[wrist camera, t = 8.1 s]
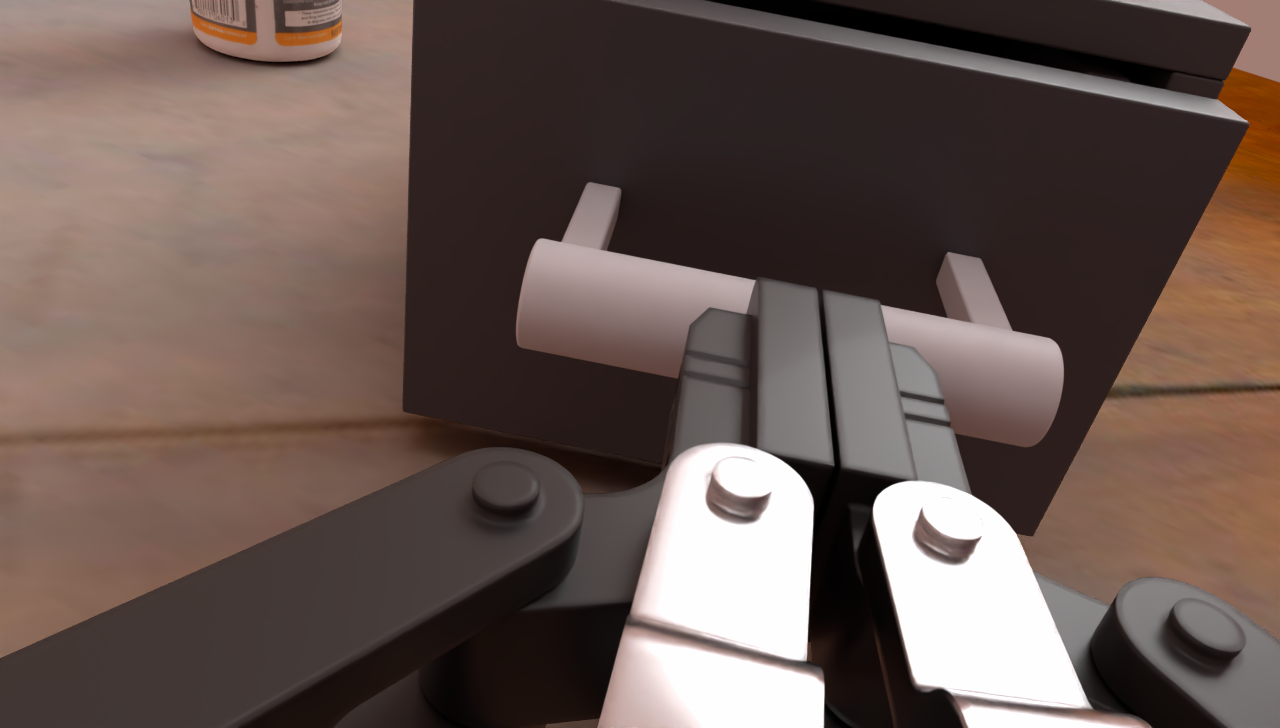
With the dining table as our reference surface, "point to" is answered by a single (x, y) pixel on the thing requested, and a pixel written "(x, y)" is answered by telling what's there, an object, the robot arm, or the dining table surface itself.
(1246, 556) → the dining table surface
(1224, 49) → the small drawer unit
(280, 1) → the pill bottle
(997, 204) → the drawer with bar handle
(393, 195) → the dining table surface
